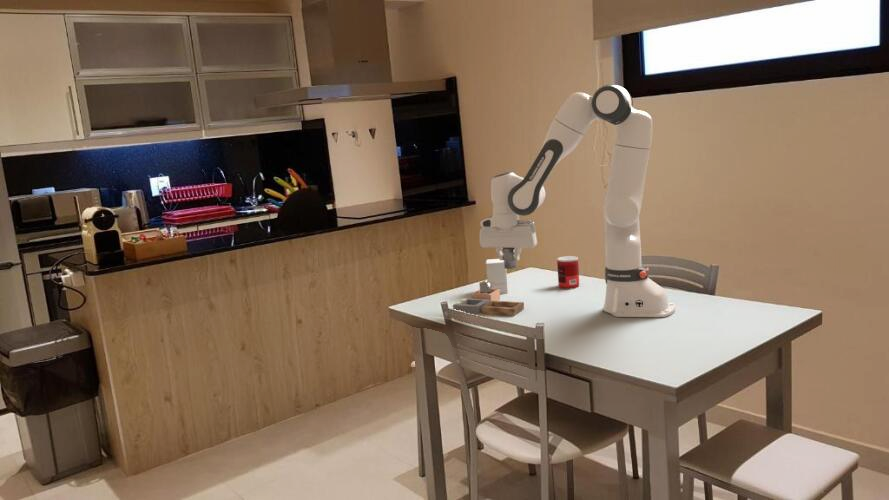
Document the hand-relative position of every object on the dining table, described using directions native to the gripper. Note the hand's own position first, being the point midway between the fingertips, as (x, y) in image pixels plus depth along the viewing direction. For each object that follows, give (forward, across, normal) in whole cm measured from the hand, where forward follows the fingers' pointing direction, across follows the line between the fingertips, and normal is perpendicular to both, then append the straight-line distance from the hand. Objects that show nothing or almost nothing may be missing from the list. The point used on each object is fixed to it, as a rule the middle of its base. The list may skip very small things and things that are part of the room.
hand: (509, 260), depth 235 cm
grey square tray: (+16, +12, +8) cm, 22 cm away
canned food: (+17, -10, -30) cm, 36 cm away
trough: (+17, 0, +8) cm, 18 cm away
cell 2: (+3, 0, 0) cm, 3 cm away
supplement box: (+17, +13, -16) cm, 27 cm away
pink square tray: (+16, +11, -2) cm, 20 cm away
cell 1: (+16, +11, -2) cm, 20 cm away
